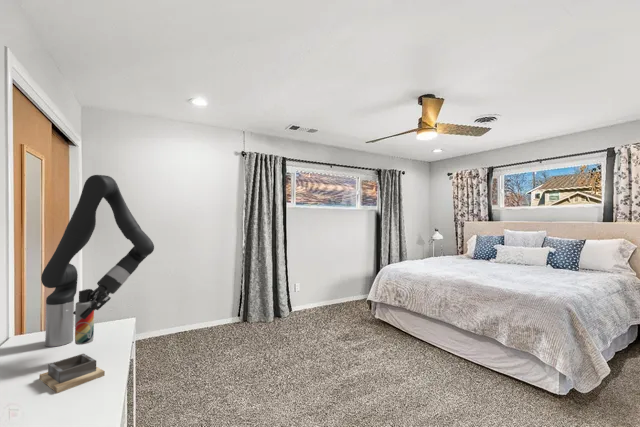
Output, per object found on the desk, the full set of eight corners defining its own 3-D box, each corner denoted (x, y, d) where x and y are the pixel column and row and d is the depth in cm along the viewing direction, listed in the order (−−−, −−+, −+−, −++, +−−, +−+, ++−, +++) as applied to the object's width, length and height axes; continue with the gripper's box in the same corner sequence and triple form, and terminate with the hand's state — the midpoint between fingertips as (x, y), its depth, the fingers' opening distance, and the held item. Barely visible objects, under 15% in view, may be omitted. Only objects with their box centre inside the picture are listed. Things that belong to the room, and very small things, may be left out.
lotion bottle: (83, 345, 117) (84, 291, 117) (70, 344, 119) (71, 290, 118) (97, 339, 123) (98, 288, 123) (85, 338, 124) (85, 287, 124)
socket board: (39, 379, 105) (39, 363, 105) (85, 364, 116) (85, 350, 116) (57, 393, 97) (57, 376, 97) (104, 375, 108) (104, 360, 108)
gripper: (98, 271, 131) (62, 307, 121) (116, 275, 123) (78, 314, 113) (112, 282, 136) (78, 317, 125) (129, 287, 128) (95, 325, 118)
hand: (78, 316), depth 119 cm, fingers closed on lotion bottle, 5 cm apart
